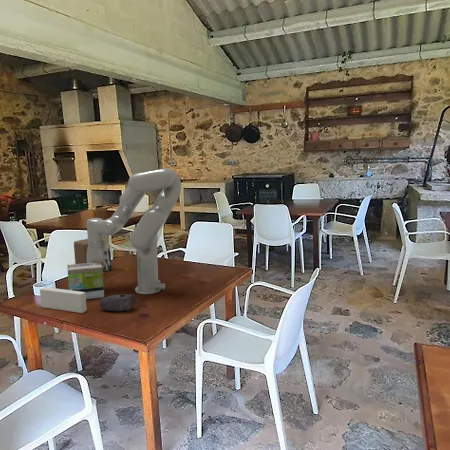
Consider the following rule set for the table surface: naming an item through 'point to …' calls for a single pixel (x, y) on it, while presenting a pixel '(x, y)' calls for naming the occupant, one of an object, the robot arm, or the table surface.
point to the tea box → (86, 279)
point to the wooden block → (80, 251)
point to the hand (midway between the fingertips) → (98, 281)
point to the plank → (63, 299)
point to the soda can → (109, 260)
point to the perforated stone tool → (118, 302)
